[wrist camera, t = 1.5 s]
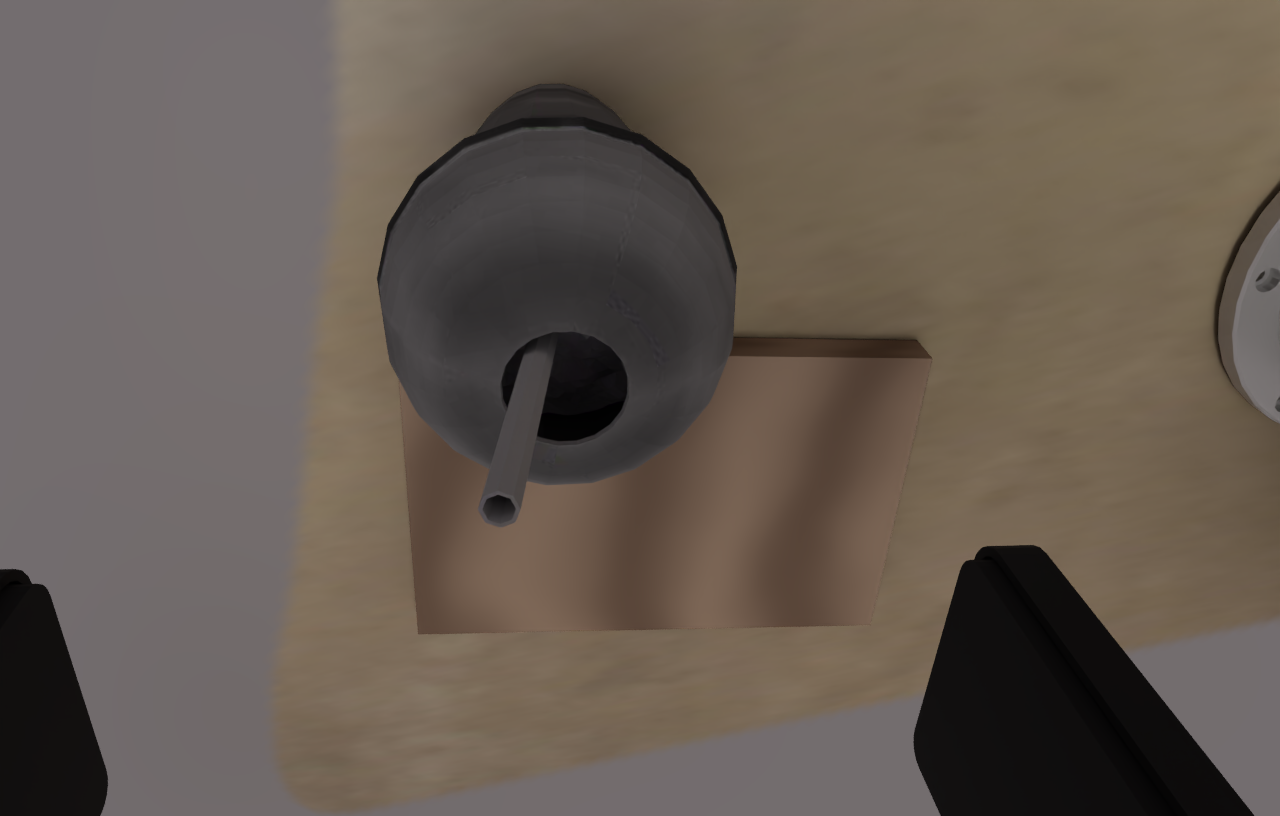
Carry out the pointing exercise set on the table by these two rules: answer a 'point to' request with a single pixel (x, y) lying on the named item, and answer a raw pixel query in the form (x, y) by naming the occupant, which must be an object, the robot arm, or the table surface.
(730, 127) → the table surface
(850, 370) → the serving board
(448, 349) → the beverage cup
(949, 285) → the table surface
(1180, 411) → the table surface
